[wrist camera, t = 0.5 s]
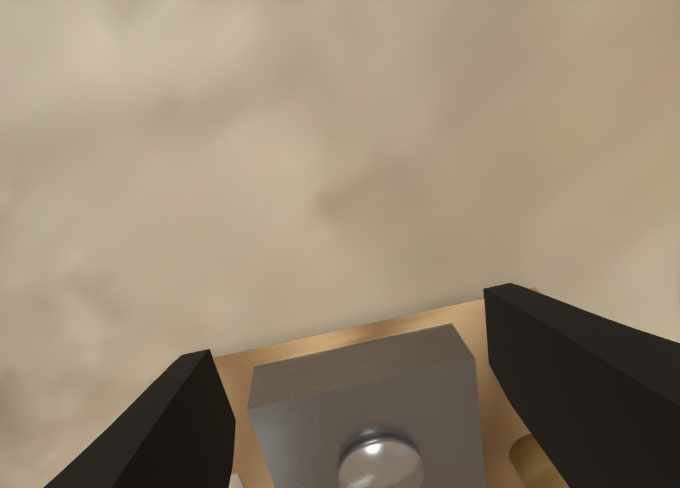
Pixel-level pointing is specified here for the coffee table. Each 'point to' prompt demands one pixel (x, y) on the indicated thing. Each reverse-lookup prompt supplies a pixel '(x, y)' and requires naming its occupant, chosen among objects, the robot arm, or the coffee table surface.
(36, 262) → the coffee table surface
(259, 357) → the wooden base with peg
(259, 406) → the cover
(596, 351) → the robot arm
